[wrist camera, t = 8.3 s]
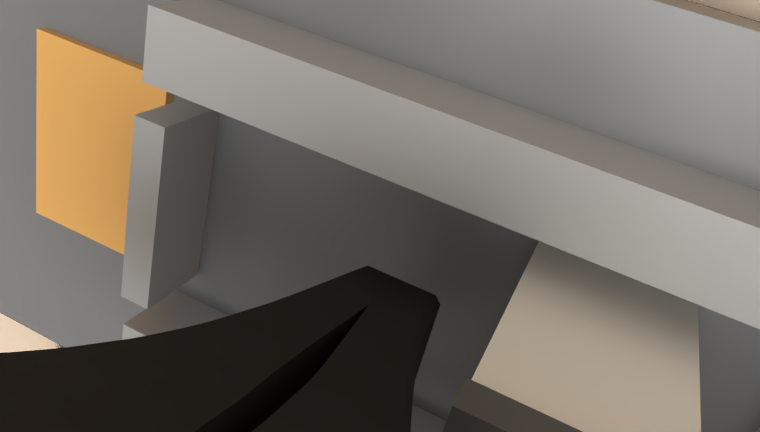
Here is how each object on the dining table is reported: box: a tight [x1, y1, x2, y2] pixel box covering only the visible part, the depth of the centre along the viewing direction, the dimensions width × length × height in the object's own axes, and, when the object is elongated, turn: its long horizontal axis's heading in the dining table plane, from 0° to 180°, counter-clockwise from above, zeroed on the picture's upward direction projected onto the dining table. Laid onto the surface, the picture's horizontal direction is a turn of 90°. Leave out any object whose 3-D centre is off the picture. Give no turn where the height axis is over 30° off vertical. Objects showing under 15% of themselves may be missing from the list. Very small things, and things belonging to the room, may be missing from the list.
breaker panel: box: [0, 0, 760, 432], centre depth 12 cm, size 24×11×3 cm, turn 76°
